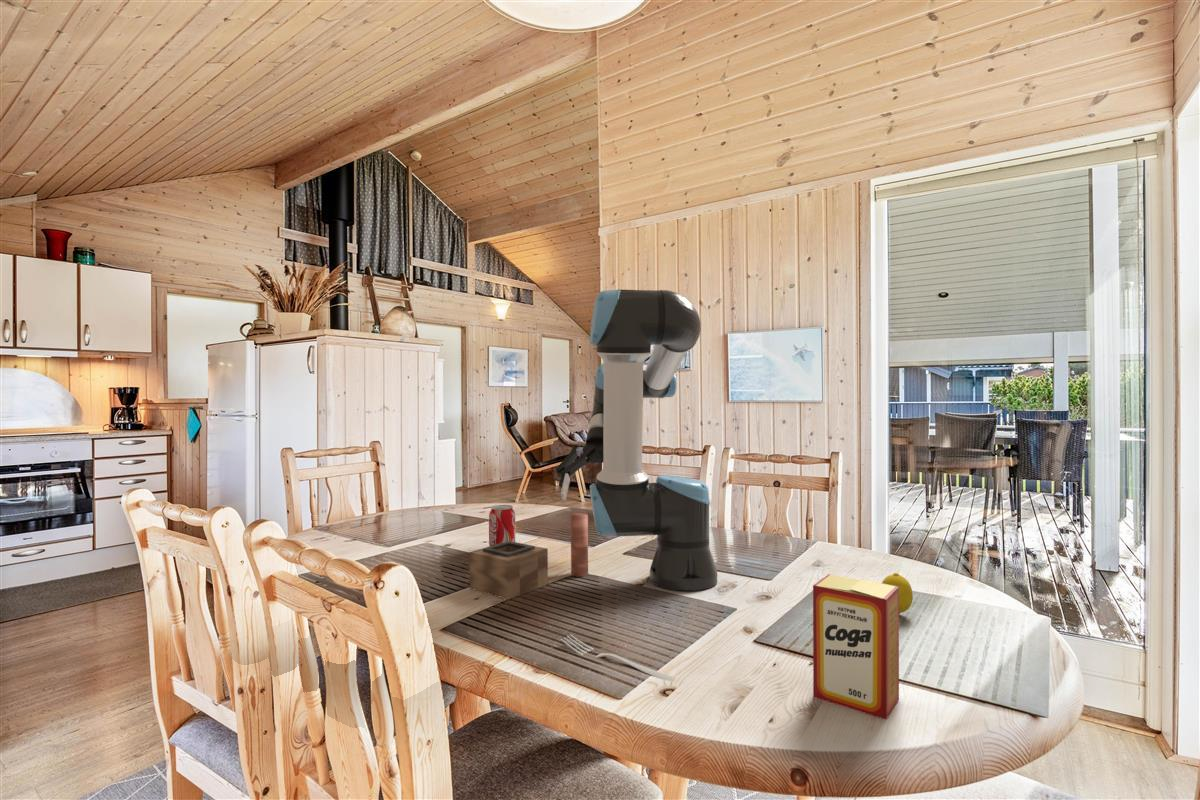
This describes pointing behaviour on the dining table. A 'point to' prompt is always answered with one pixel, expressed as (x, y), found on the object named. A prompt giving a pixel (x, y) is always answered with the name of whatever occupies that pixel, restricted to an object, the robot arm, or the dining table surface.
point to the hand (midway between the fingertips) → (589, 498)
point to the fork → (639, 667)
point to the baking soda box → (856, 644)
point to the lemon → (901, 590)
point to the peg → (579, 544)
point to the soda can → (501, 524)
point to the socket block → (508, 569)
